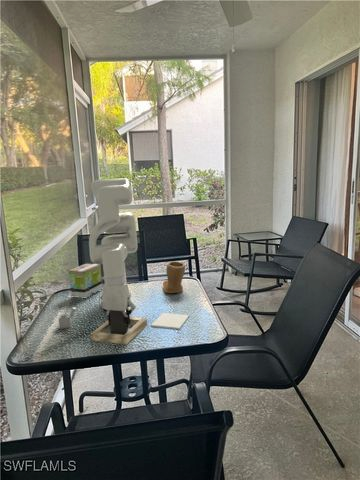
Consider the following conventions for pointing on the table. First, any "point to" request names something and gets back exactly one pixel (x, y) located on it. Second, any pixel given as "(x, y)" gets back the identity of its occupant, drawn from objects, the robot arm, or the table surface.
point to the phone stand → (118, 323)
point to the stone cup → (174, 277)
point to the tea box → (85, 280)
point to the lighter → (66, 319)
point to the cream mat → (170, 321)
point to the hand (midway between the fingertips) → (119, 324)
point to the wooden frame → (117, 338)
